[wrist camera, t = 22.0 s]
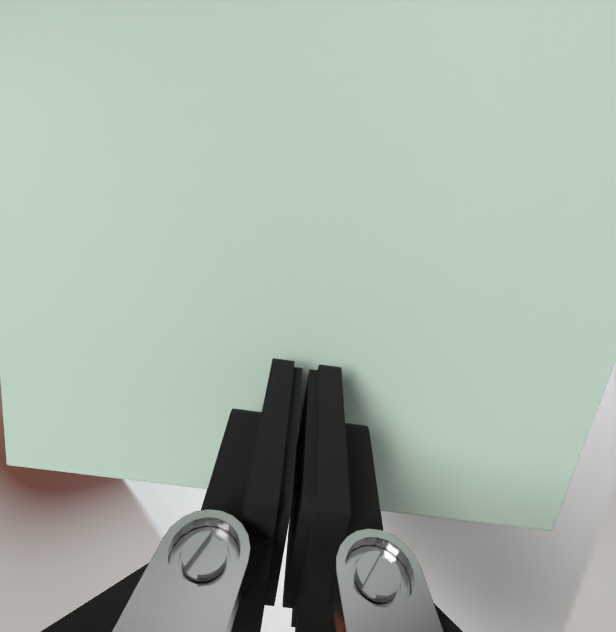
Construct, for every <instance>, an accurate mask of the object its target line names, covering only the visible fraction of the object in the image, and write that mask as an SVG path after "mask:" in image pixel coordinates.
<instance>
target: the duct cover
mask: <svg viewBox="0 0 616 632" xmlns="http://www.w3.org/2000/svg"><path fill="white" fill-rule="evenodd" d="M273 358H276V359H283V360H291V361H295V363H294V367H298V368H303V371H302V383H301V396H300V408H299V421H298V433H297V440H298V434H299V428H300V422H301V416H302V410H303V404H304V398H305V392H306V386H307V380H308V374H309V369H313V370H318V366H319V364H321V365H328V366H336V367H341V369H342V382H343V397H344V412H345V423H350V424H358V425H366V426H368V428H369V432H370V438H371V446H372V453H373V460H374V467H375V475H376V482H377V489H378V496H379V504H380V510H382V511H391V512H399V513H407V514H415V515H424V516H432V517H440V518H448V519H456V520H465V521H473V522H481V523H489V524H498V525H506V526H514V527H522V528H530V529H539V530H547V531H552V529H553V526H554V524H555V521H556V518H557V516H558V513H559V510H560V508H561V505H562V502H563V500H564V497H565V494H566V492H567V489H568V486H569V484H570V481H571V478H572V476H573V473H574V470H575V468H576V465H577V462H578V460H579V457H580V454H581V452H582V449H583V446H584V444H585V441H586V438H587V436H588V433H589V430H590V428H591V425H592V422H593V420H594V417H595V414H596V412H597V409H598V406H599V404H600V401H601V398H602V396H603V393H604V390H605V388H606V385H607V382H608V380H609V377H610V374H611V372H612V369H613V366H614V364H615V361H616V0H0V378H1V392H2V404H3V418H4V432H5V445H6V459H7V465H13V466H21V467H29V468H38V469H46V470H54V471H63V472H70V473H78V474H87V475H96V476H103V477H112V478H119V479H128V480H136V481H144V482H152V483H161V484H169V485H177V486H185V487H193V488H202V489H208V485H209V482H210V479H211V475H212V472H213V469H214V465H215V462H216V459H217V455H218V452H219V449H220V445H221V442H222V439H223V436H224V432H225V429H226V426H227V422H228V419H229V416H230V413H231V410H232V409H233V408H234V409H241V410H249V411H257V412H262V408H263V403H264V398H265V393H266V388H267V383H268V378H269V373H270V369H271V364H272V359H273Z"/></svg>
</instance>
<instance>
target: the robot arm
mask: <svg viewBox="0 0 616 632" xmlns="http://www.w3.org/2000/svg"><path fill="white" fill-rule="evenodd" d="M294 363H295V361H291V360H283V359H276V358H273V359H272V364H271V369H270V373H269V378H268V383H267V388H266V393H265V398H264V403H263V408H262V412H257V411H249V410H241V409H234V408H233V409H232V410H231V413H230V416H229V419H228V422H227V426H226V429H225V432H224V436H223V439H222V442H221V445H220V449H219V452H218V455H217V459H216V462H215V465H214V469H213V472H212V475H211V479H210V482H209V485H208V489H207V492H206V495H205V499H204V502H203V505H202V509H201V511H196V512H193V513H191V514H189V515H186V516H184V517H182V518H181V519H180V520H178V521H177V522H176V523H175V524H173V525H172V526H171V527H170V529H169V530H168V531H167V533H166V534H165V535H164V537H163V538H162V540H161V542H160V544H159V546H158V547H157V549H156V551H155V553H154V555H153V557H152V559H151V560H150V562H149V563H148V564H146V565H145V566H143V567H142V568H140V569H139V570H137V571H135V572H134V573H132V574H131V575H129V576H127V577H126V578H124V579H123V580H121V581H120V582H118V583H116V584H115V585H114V586H112V587H110V588H109V589H107V590H106V591H104V592H103V593H101V594H99V595H98V596H96V597H95V598H93V599H91V600H90V601H88V602H87V603H85V604H84V605H82V606H80V607H79V608H77V609H76V610H74V611H73V612H71V613H69V614H68V615H66V616H65V617H63V618H62V619H60V620H59V621H57V622H55V623H54V624H52V625H51V626H49V627H48V628H46V629H44V630H43V631H41V632H260V630H261V624H262V617H263V611H264V605H270V606H274V603H275V598H276V592H277V586H278V581H279V575H280V569H281V564H282V558H283V552H284V547H285V541H286V535H287V530H288V524H289V532H288V544H287V556H286V568H285V581H284V593H283V607H287V608H292V624H291V627H295V632H462V631H461V630H460V629H459V628H458V627H457V626H456V625H455V624H454V623H453V622H452V621H451V620H450V619H449V618H448V617H447V616H446V615H445V614H444V613H443V612H442V611H441V610H440V609H439V608H438V607H437V606H436V605H435V604H434V603H433V600H432V597H431V595H430V592H429V589H428V586H427V583H426V580H425V577H424V574H423V572H422V569H421V567H420V565H419V563H418V561H417V559H416V557H415V555H414V554H413V552H412V551H411V550H410V549H409V548H408V547H407V545H406V544H405V543H403V542H402V541H401V540H399V539H398V538H397V537H395V536H394V535H392V534H389V533H387V532H384V531H383V526H382V518H381V511H380V504H379V496H378V489H377V482H376V475H375V467H374V460H373V453H372V446H371V438H370V432H369V428H368V426H366V425H358V424H350V423H345V412H344V397H343V382H342V369H341V367H336V366H328V365H321V364H319V366H318V370H313V369H309V374H308V380H307V386H306V392H305V398H304V404H303V410H302V416H301V422H300V428H299V434H298V440H297V433H298V421H299V408H300V396H301V383H302V371H303V368H298V367H294ZM289 518H290V520H289Z"/></svg>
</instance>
